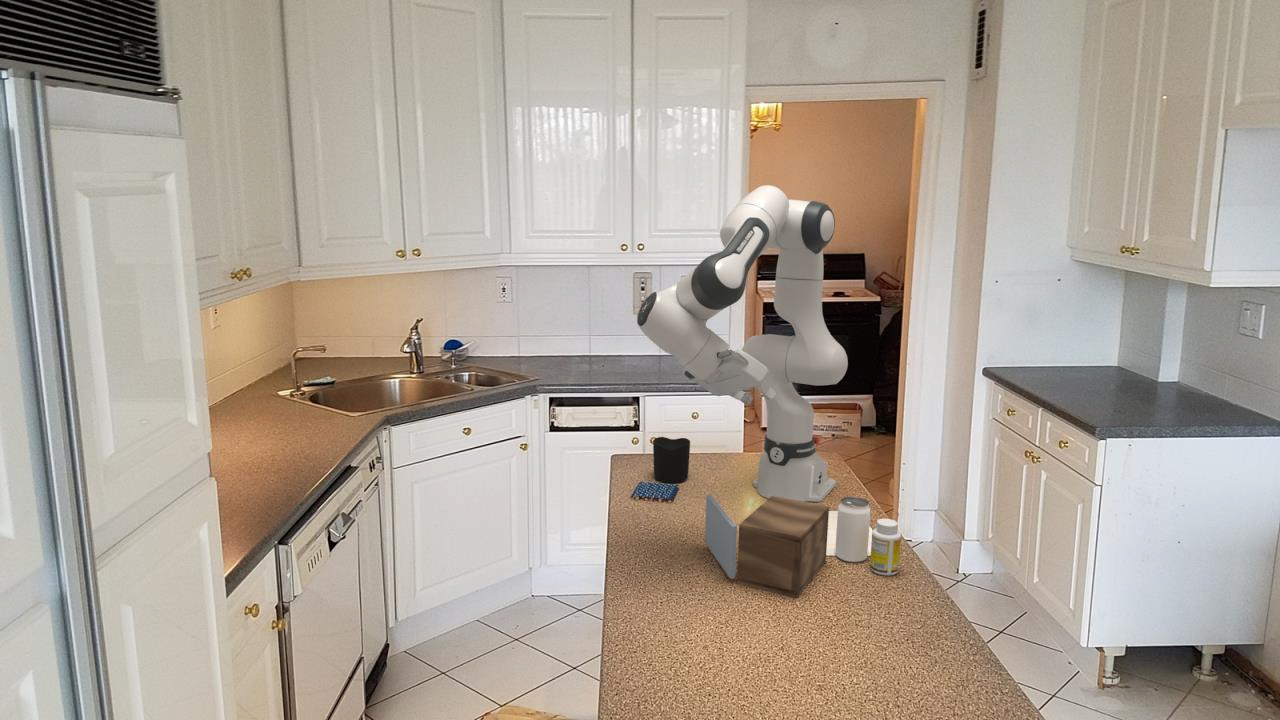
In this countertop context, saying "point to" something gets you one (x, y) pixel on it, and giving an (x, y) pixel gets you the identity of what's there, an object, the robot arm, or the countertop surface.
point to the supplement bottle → (885, 547)
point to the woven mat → (655, 492)
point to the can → (852, 529)
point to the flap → (721, 535)
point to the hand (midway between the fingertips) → (761, 399)
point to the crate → (782, 545)
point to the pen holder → (671, 459)
